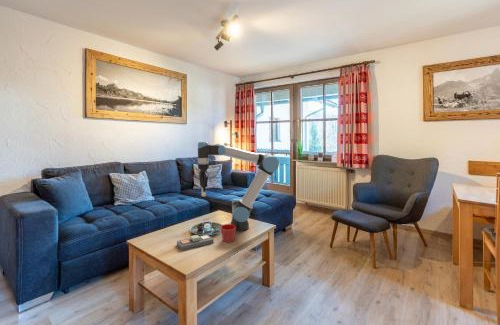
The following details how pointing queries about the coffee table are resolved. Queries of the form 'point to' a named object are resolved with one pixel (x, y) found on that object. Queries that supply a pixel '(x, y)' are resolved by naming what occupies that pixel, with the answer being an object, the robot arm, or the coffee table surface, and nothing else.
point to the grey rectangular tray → (194, 243)
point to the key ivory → (204, 237)
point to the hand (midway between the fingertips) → (203, 195)
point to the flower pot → (228, 232)
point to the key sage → (195, 238)
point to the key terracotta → (184, 242)
